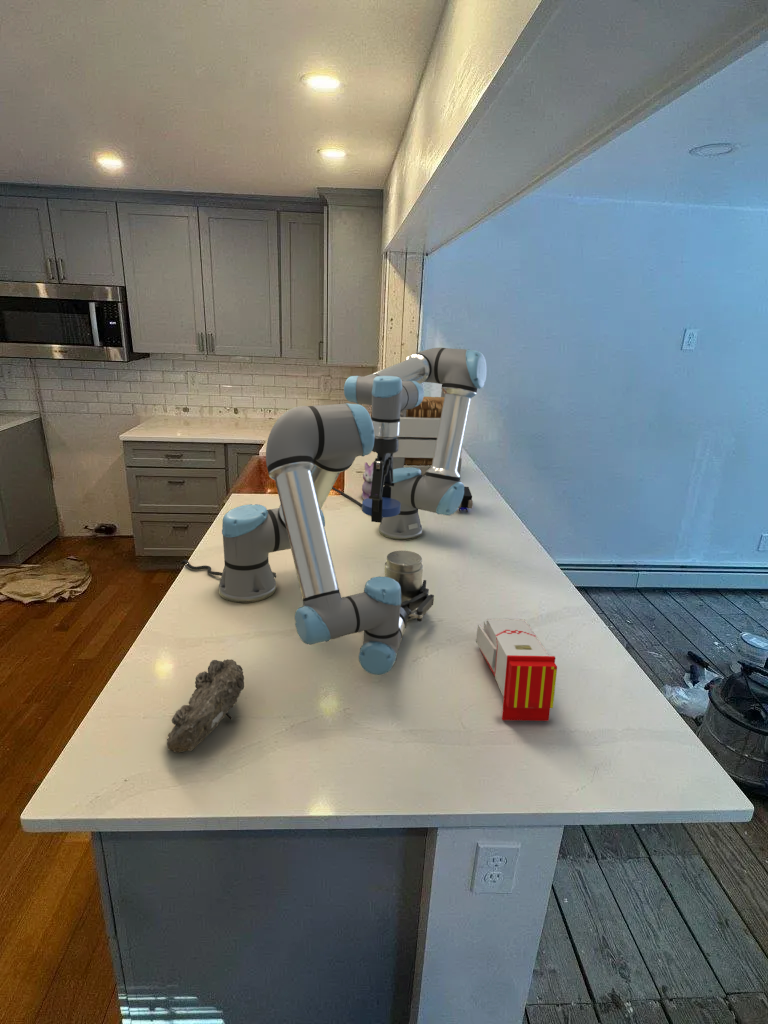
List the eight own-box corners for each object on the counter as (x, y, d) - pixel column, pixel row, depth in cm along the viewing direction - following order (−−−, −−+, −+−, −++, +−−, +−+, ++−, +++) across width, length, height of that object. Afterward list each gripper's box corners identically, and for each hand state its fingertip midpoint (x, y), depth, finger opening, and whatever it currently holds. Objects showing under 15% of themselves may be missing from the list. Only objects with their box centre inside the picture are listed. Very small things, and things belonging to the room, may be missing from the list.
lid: (365, 503, 162) (365, 495, 161) (402, 506, 161) (402, 498, 160) (358, 515, 152) (359, 507, 152) (397, 519, 151) (398, 510, 150)
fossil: (192, 660, 117) (244, 628, 112) (224, 691, 120) (276, 661, 115) (142, 746, 98) (202, 712, 93) (182, 779, 101) (242, 748, 96)
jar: (421, 621, 145) (425, 566, 139) (383, 620, 144) (386, 565, 139) (417, 602, 154) (421, 550, 149) (381, 601, 153) (384, 549, 148)
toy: (523, 604, 135) (566, 662, 106) (518, 656, 138) (559, 727, 109) (472, 603, 135) (501, 661, 105) (468, 655, 138) (496, 726, 108)
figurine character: (472, 517, 222) (467, 501, 236) (475, 500, 219) (469, 484, 233) (455, 517, 222) (451, 500, 236) (457, 499, 219) (452, 484, 232)
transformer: (382, 463, 289) (386, 382, 275) (445, 464, 293) (451, 384, 279) (390, 482, 257) (394, 392, 243) (460, 483, 261) (468, 394, 247)
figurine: (366, 502, 230) (367, 466, 225) (355, 494, 239) (356, 460, 234) (386, 499, 235) (388, 464, 229) (375, 492, 243) (377, 458, 238)
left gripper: (341, 631, 133) (363, 589, 154) (436, 646, 130) (446, 600, 150) (342, 603, 131) (364, 564, 151) (439, 617, 127) (448, 574, 148)
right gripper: (380, 427, 161) (377, 501, 168) (359, 444, 140) (357, 527, 147) (406, 429, 160) (402, 503, 167) (389, 446, 138) (385, 531, 146)
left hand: (405, 582), depth 151 cm, fingers closed on jar, 10 cm apart
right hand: (381, 515), depth 157 cm, fingers closed on lid, 10 cm apart
